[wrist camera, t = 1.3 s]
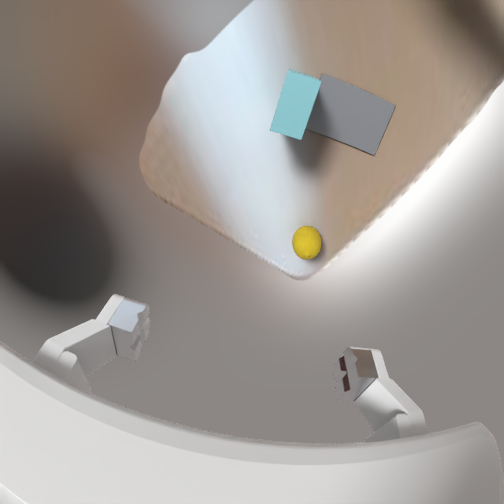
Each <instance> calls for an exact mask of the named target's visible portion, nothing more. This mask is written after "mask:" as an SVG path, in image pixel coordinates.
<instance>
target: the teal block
mask: <svg viewBox="0 0 504 504" xmlns="http://www.w3.org/2000/svg"><path fill="white" fill-rule="evenodd" d="M320 84H321V81H320V80H318V79H316V78H315V77H313V76H310V75H306V74H303V73H300V72H297V71H294V70H290V69H289V70H288V72H287V75H286V79H285V82H284V85H283V88H282V92H281V95H280V98H279V101H278V105H277V108H276V111H275V115H274V118H273V121H272V125H271V128H270V131H273V132H277V133H280V134H283V135H287V136H290V137H293V138H296V139H299V140H301V139H302V136H303V133H304V131H305V128H306V125H307V122H308V119H309V116H310V113H311V110H312V108H313V105H314V102H315V99H316V96H317V93H318V90H319V87H320Z"/></svg>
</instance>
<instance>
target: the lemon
mask: <svg viewBox="0 0 504 504" xmlns="http://www.w3.org/2000/svg"><path fill="white" fill-rule="evenodd" d="M292 244H293V249H294V251H295V253H296V254H297V256H299V257H300V258H302V259H306V260H308V259H312V258H314V257H316V256H317V255H318V253H319V252H320V249H321V244H322V241H321V236H320V234H319V232H318V231H317V230H316V229H315V228H313V227H311V226H303V227H301V228H299V229H298V230H297V231H296V232H295V234H294V236H293V240H292Z"/></svg>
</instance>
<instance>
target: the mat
mask: <svg viewBox="0 0 504 504" xmlns="http://www.w3.org/2000/svg"><path fill="white" fill-rule="evenodd" d="M320 81H321V84H320V87H319V90H318V93H317V96H316V99H315V102H314V105H313V108H312V110H311V113H310V116H309V119H308V122H307V125H306V128H305V129H308V130H311V131H313V132H316V133H319V134H322V135H325V136H328V137H330V138H333V139H336V140H338V141H341V142H343V143H346V144H348V145H351V146H353V147H356V148H358V149H361V150H363V151H365V152H368V153H370V154H372V155H374V154H375V152H376V150H377V148H378V145H379V143H380V141H381V139H382V136H383V134H384V132H385V130H386V127H387V125H388V123H389V120H390V118H391V115H392V113H393V111H394V108H395V106H396V105H394V104H392V103H390V102H388V101H386V100H384V99H382V98H380V97H378V96H375V95H373V94H371V93H369V92H367V91H365V90H362V89H360V88H358V87H355V86H353V85H351V84H348V83H346V82H343V81H341V80H338V79H335V78H333V77H330V76H327V75H325V74H322V75H321V78H320Z"/></svg>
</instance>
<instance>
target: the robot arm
mask: <svg viewBox="0 0 504 504" xmlns="http://www.w3.org/2000/svg"><path fill="white" fill-rule="evenodd" d="M149 312H150V310H149V305H147V304H144V303H141V302H138V301H135V300H132V299H129V298H126V297H123V296H120V295H117V294H114V295H113V296H112V297H111V298H110V300H109V301H108V303H107V304H106V305H105V307H104V308H103V310H102V311H101V313H100V314H99V316H98V317H97V319H96V320H94V319H92V320H89V321H87V322H85V323H83V324H81V325H78V326H76V327H74V328H72V329H70V330H68V331H65V332H63V333H61V334H59V335H57V336H54V337H52V338H50V339H48V340H47V341H46V342H45V344H44V345H43V347H42V348H41V350H40V351H39V353H38V354H37V356H36V357H35V359H34V361H33V362H31V361H29V360H28V359H26V358H24V357H23V356H21V355H20V354H18V353H17V352H15V351H14V350H12V349H11V348H10V347H8V346H7V345H5V344H4V343H2V342H1V341H0V504H504V479H503V471H502V464H501V459H500V454H499V449H498V445H497V443H496V440H495V438H494V436H493V435H492V434H491V433H490V431H489V430H488V429H486V427H485V426H484V425H482V424H481V423H480V422H473V423H470V424H466V425H463V426H459V427H455V428H452V429H448V430H444V431H439V432H434V433H430V434H428V431H427V427H426V423H425V419H424V416H423V412H422V411H421V410H420V408H419V407H418V406H417V405H416V404H415V403H414V402H413V401H412V400H411V399H410V398H409V397H408V396H407V395H406V394H405V392H403V390H401V388H400V387H399V386H398V385H397V384H396V383H395V382H394V381H393V380H392V379H389V377H388V374H387V370H386V368H385V364H384V360H383V357H382V354H381V352H380V350H376V349H367V348H357V347H347V348H346V349H345V351H344V352H343V353H344V356H343V357H341V358H339V359H338V361H337V362H336V364H335V367H334V379H335V380H336V381H337V383H338V384H337V386H336V394H337V400H346V401H354V403H355V404H356V406H357V407H358V409H359V410H360V412H361V413H362V415H363V416H364V418H365V419H366V421H367V422H368V424H369V425H370V427H371V428H372V430H373V431H374V433H372V434H371V435H370V436H368V437H367V438H366V439H365V442H363V443H362V442H361V443H340V444H314V443H291V442H278V441H267V440H257V439H250V438H243V437H237V436H231V435H225V434H220V433H214V432H209V431H205V430H200V429H195V428H192V427H187V426H183V425H180V424H176V423H172V422H168V421H165V420H162V419H158V418H155V417H152V416H149V415H145V414H143V413H140V412H136V411H134V410H131V409H128V408H126V407H123V406H120V405H118V404H115V403H113V402H110V401H108V400H105V399H103V398H100V397H98V396H96V395H94V394H91V392H92V389H91V387H90V385H89V383H88V381H87V379H86V377H88V376H89V375H91V374H92V373H94V372H95V371H97V370H98V369H100V368H101V367H103V366H104V365H105V364H107V363H108V362H110V361H111V360H113V359H114V358H116V357H117V355H118V356H121V357H124V358H127V359H130V360H133V361H136V360H137V358H138V356H139V354H140V352H141V349H142V348H141V343H143V342H145V340H146V339H147V336H148V333H149V329H150V319H149V318H148V314H149Z"/></svg>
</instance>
